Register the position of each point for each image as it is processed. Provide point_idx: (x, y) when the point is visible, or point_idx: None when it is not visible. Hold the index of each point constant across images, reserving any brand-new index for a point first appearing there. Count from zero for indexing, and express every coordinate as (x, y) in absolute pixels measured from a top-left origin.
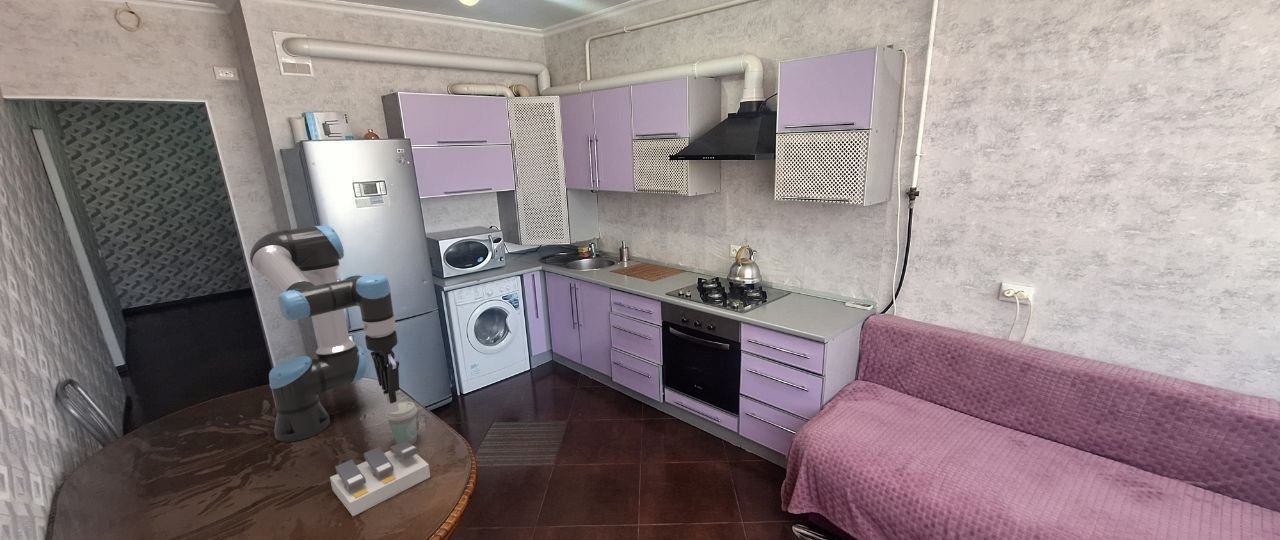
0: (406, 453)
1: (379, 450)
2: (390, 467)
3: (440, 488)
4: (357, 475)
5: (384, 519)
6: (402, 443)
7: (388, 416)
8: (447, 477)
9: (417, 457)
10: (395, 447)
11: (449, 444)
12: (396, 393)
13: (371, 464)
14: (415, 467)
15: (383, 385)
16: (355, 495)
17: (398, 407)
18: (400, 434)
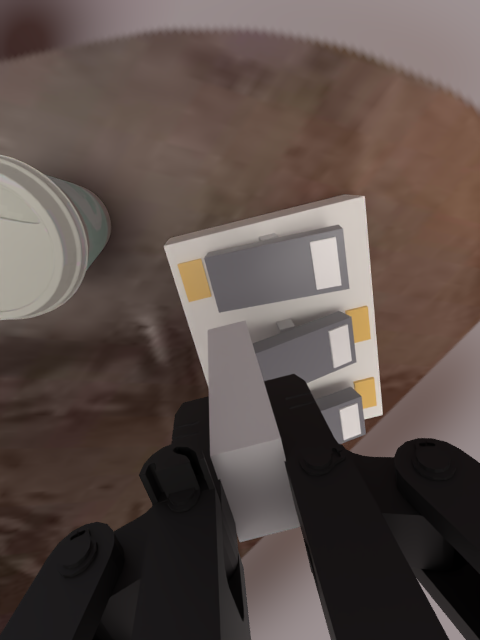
0: (347, 274)
1: (261, 357)
2: (350, 326)
3: (422, 180)
4: (342, 417)
5: (429, 334)
6: (232, 270)
7: (35, 314)
8: (386, 143)
9: (291, 222)
10: (248, 298)
11: (181, 68)
12: (269, 401)
13: (311, 380)
14: (349, 241)
15: (247, 624)
16: (368, 405)
17: (248, 331)
18: (97, 253)
